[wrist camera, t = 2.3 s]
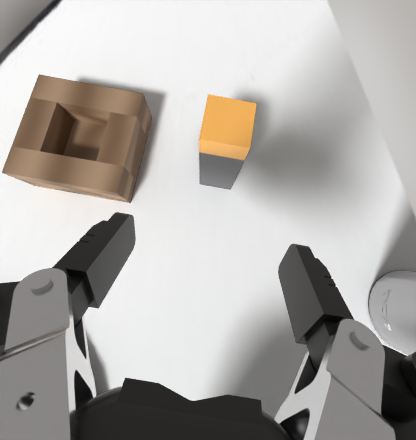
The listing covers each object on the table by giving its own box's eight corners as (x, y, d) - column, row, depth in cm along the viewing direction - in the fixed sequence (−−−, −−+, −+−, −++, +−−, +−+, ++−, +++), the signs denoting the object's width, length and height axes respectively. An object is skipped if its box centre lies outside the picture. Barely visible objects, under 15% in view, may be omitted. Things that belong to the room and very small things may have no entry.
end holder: (151, 117, 26) (143, 93, 22) (130, 202, 24) (116, 193, 20) (63, 101, 26) (38, 74, 22) (34, 185, 24) (1, 172, 20)
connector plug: (234, 160, 25) (256, 103, 16) (230, 189, 25) (250, 148, 15) (205, 155, 25) (208, 94, 16) (199, 184, 25) (199, 139, 15)
